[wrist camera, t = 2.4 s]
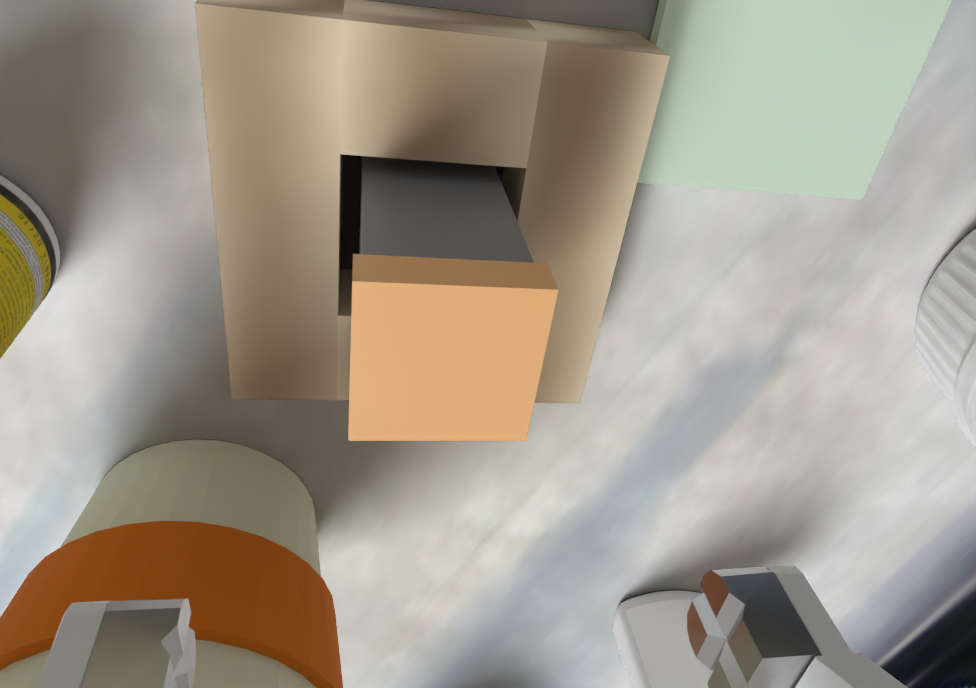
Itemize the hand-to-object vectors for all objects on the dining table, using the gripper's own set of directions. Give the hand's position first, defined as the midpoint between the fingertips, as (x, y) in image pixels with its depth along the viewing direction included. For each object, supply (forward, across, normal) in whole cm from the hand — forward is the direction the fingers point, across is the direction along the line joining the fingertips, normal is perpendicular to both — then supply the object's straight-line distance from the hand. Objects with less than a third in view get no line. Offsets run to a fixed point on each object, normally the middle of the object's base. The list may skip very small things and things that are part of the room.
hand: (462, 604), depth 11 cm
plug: (+15, -1, 0) cm, 15 cm away
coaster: (+15, -12, -6) cm, 20 cm away
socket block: (+15, -1, 0) cm, 15 cm away
